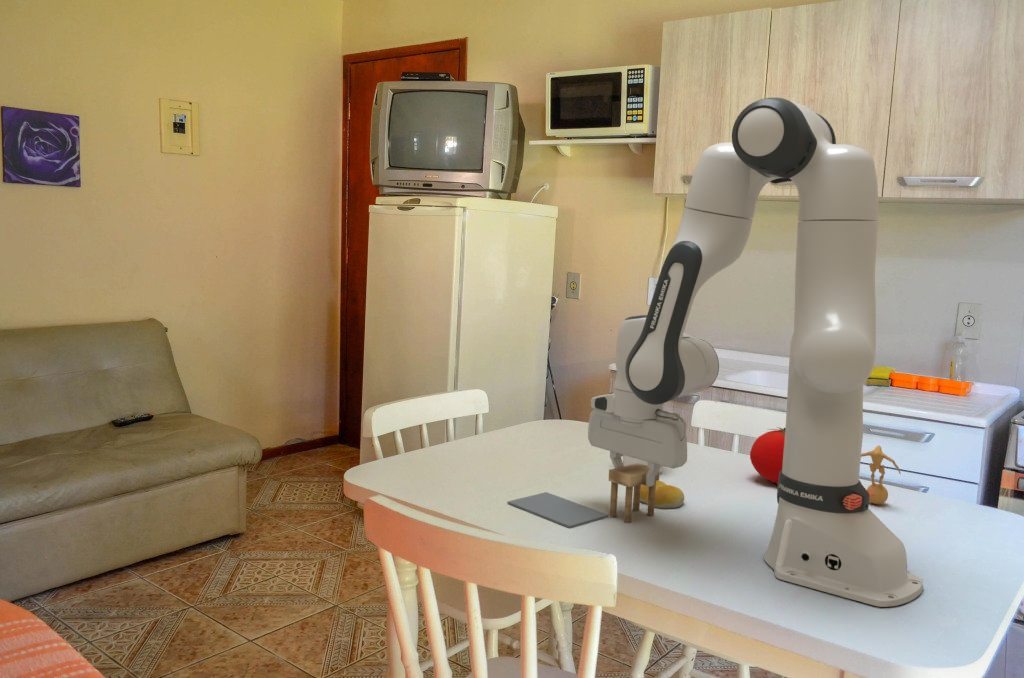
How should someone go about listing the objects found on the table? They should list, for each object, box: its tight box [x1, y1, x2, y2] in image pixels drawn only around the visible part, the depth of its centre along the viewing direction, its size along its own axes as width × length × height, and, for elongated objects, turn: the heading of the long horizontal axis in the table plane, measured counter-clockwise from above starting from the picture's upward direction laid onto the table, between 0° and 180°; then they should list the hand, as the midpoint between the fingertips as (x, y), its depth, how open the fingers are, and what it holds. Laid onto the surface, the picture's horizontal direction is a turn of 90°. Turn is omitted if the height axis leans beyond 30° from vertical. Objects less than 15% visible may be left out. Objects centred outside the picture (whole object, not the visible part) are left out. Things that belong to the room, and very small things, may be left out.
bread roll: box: [640, 479, 685, 509], centre depth 156 cm, size 8×9×4 cm
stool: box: [608, 463, 661, 524], centre depth 147 cm, size 5×8×8 cm, turn 132°
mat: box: [507, 491, 610, 529], centre depth 149 cm, size 16×10×1 cm, turn 42°
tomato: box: [749, 426, 786, 484], centre depth 172 cm, size 12×14×11 cm
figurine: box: [861, 445, 901, 506], centre depth 158 cm, size 8×6×12 cm
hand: (633, 480), depth 147 cm, fingers closed on stool, 5 cm apart
